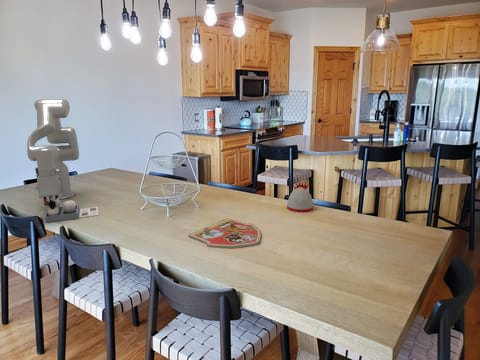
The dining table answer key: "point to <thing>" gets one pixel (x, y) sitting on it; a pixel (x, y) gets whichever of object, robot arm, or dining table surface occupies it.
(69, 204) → the button
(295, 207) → the grey red dome
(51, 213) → the button
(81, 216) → the card
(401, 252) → the dining table surface
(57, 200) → the button
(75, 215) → the button board
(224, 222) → the coat of arms plaque
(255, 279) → the dining table surface
